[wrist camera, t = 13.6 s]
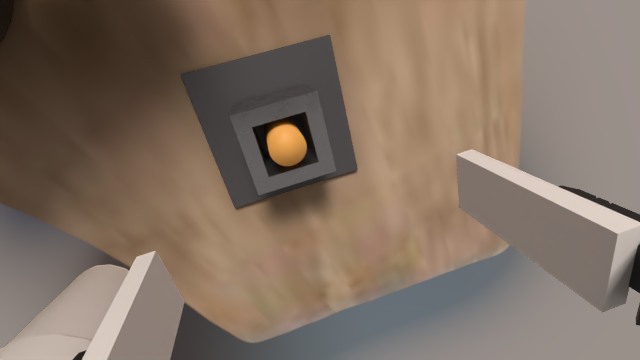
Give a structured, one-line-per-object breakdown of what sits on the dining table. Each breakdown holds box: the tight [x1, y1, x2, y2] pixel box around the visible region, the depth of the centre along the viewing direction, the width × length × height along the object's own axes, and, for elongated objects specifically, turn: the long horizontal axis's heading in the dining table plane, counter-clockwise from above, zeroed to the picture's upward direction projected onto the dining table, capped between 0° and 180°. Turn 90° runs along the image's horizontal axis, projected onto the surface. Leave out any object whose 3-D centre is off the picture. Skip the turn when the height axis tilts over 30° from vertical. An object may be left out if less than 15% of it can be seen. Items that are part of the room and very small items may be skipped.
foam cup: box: [0, 264, 129, 360], centre depth 29 cm, size 10×9×13 cm
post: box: [255, 114, 307, 166], centre depth 28 cm, size 5×5×8 cm
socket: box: [230, 84, 336, 195], centre depth 28 cm, size 7×7×6 cm
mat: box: [181, 35, 357, 208], centre depth 32 cm, size 14×14×1 cm
